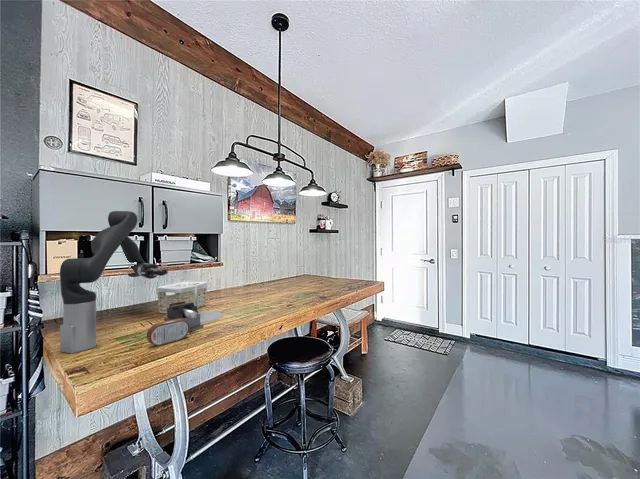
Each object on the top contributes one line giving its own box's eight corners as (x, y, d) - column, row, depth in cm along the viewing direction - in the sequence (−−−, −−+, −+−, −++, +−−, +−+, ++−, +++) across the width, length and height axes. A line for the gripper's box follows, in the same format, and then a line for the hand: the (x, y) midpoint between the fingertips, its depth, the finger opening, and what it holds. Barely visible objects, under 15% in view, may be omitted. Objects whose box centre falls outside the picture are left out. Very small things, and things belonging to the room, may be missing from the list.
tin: (187, 336, 114) (186, 315, 114) (190, 337, 112) (190, 317, 112) (146, 347, 103) (146, 324, 103) (149, 349, 101) (149, 326, 101)
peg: (168, 319, 124) (168, 303, 124) (184, 315, 129) (184, 300, 129) (185, 325, 114) (185, 308, 114) (201, 321, 120) (201, 305, 120)
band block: (160, 331, 120) (160, 305, 121) (192, 323, 132) (192, 300, 132) (171, 336, 114) (171, 309, 114) (203, 327, 125) (203, 302, 125)
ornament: (196, 312, 152) (196, 282, 152) (222, 310, 157) (222, 280, 157) (194, 323, 132) (194, 288, 132) (224, 320, 137) (224, 286, 137)
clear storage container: (186, 304, 173) (186, 280, 174) (209, 305, 170) (208, 281, 170) (155, 314, 150) (155, 287, 150) (180, 315, 146) (180, 287, 146)
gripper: (133, 264, 140) (147, 266, 129) (161, 262, 150) (176, 264, 140) (133, 279, 140) (147, 282, 129) (161, 276, 150) (176, 279, 139)
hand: (162, 273), depth 134 cm, fingers closed
